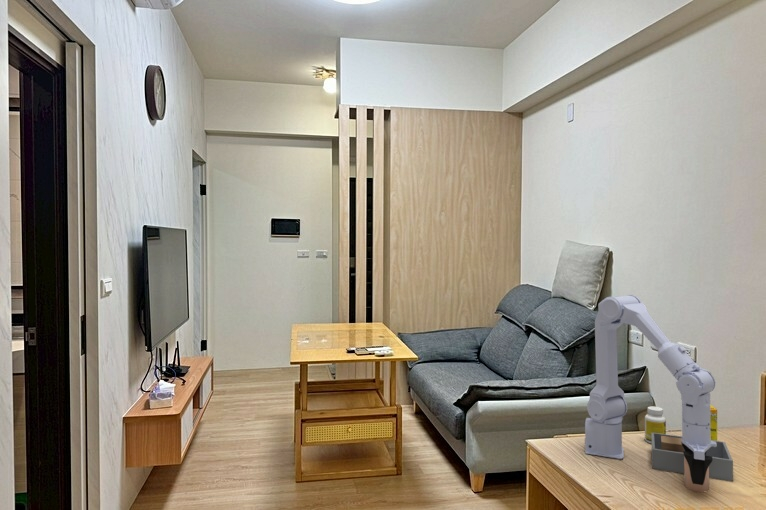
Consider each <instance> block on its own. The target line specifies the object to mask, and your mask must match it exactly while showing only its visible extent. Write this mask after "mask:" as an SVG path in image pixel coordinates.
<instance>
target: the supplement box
mask: <svg viewBox="0 0 766 510" xmlns="http://www.w3.org/2000/svg"><path fill="white" fill-rule="evenodd" d="M710 430H711V440H714V441H718V409H717V408H715V407H714V405H712V404H711V403H710Z"/></svg>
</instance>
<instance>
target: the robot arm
mask: <svg viewBox="0 0 766 510" xmlns="http://www.w3.org/2000/svg"><path fill="white" fill-rule="evenodd" d="M597 306H598V307H597V308H598V312H597V314H596V317H595V319H594V337H595V338H594V340H595V350H594V351H595V377H596V380H595V381H596V382H595V383H596V385H595V386H594V387H593V388H592V389H591V391H590V392H589V398H588V402H587V406H586V409H587V413H588V415H589V416H590V417H585V422H584V430H585V431H584V445H585V447H584V449H585V451H584V454H586V455H593V456H598V457H605V458H611V459H618V460H623V459H624V454H625V453H624V452H625V448H624V447H623V429H622V428H623V422H622V421H623V420H624V416H625V415H626V414H627V412H628V404H627V400H626V398H625V392H624V390H623V389H622V388H621V387H620V386H619V376H618V375H619V372H618V369H619V368H618V340H617V336H618V335H617V329H619V328H620V327H621V326H622V325H624V324H625V325H628V326H634V327H636V329H637V330H639V331H640V333H642V335H643V336H644V337H645V338H646V339H647V340H648V341H649V342H650V343H651V344H652V345H653V346H654V347H655V348H656V349H657V358H658V360H660V362H661V363H662V364H663V365H664V366H665V368H666V369H667V370H668V371H669V372H670V374H671V375H672V376H673V378H675V380H676V381H675V384H676V388H677V390H678V391H679V393H680V396H681V398H680V399H681V404H682V405H681V427H682V428H681V433H682V435H681V436H682V438H681V441H682V442H681V443H682V446H683V448H684V450H685V451H683V453H684V456H685V458H686V460H687V462H688V465H689V469H690V474H691V479H692V483H693V484H698V485H703V484H704V480H705V476H706V472H707V469H708V467H709V465H710V464H711V462H712V460H713V459H712V456H705V455H706V452H707V451H708V449H709V448H710V447H712V446H713V447H717V443H716V442H715V441H711V430H710V404H711V393H712V392H713V391H714V390H715V387H716V379H715V377H714V376H713V375H712V373H711V372H710V370H708V369H706V368H702V367H701V366H700V365H699V364H698V363H696V362H695V361H694V360H693V359H692V358H691V356H690V355H689V354H688V353H687V352H686V351H687V349H686V348H685V347H684V346H683V345H680V344H679V343H676V342H672V341H670V340H669V338H668V337H667V336H666V334H665V333H664V332H663V331H662V330H661V328H660V327H659V326H658V324H657V323H656V322H655V320H654V319H653V317H652V316H651V315H650V313H649V312H648V308H647V305H645V304H644V303H643V302H642V301H641V299H640V298H639V297H638V296H637V295H633V294H627V295H621V296H607V297H605V298H604V299H602V300H601V301H600V302H599V303H598V305H597Z"/></svg>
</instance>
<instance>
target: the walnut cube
mask: <svg viewBox="0 0 766 510" xmlns="http://www.w3.org/2000/svg"><path fill="white" fill-rule="evenodd" d="M681 442H682V441H681V438H675V437H667V436H661V450H667V451H674V452H681V453H683V451H684V448H683V446H682V443H681Z"/></svg>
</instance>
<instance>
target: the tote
mask: <svg viewBox="0 0 766 510" xmlns="http://www.w3.org/2000/svg"><path fill="white" fill-rule="evenodd" d="M661 436H667V437H675V438H682V435H675V434H674V435H673V434H667V433H666V434H660V433H652V432H651V439H652V444H651V463H652V465H651V466H652V467H651V468H652V469H653V470H659V471H664V470H665V472H670V471H672V472H673V473H677V472H678V473H677V474H684V453H681V452H674V451H667V450H661ZM711 441H714V440H711ZM715 442H716V443H717V447H713V446H712V447H710V448H709V449H708V451H707V452H706V455H705V456H712V459H713V460H712V462H711V464H710V465H709V477H710V478H709V479H715V480H722V481H728V482H734V460H733V458H732V455H731V453H730V450H729V449H728V445H727V444H726V442H725V441H719V440H717V441H715ZM684 451H685V450H684ZM672 472H671V473H672Z"/></svg>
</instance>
